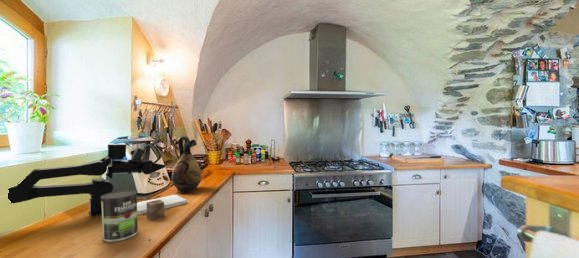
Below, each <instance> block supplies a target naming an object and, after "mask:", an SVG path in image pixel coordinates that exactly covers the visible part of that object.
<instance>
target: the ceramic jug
mask: <svg viewBox="0 0 579 258" xmlns="http://www.w3.org/2000/svg"><path fill="white" fill-rule="evenodd" d="M195 146H197V141H196V140H195V139H191V140H190V139H189V136H186V135H182V136H181V137H179V138H178V149H179V150H178V151H179V159H178V160H177V162H176V163H175V164H174V167H173V169H172V173H171V182H172V184H173V186H174V187H175V188H176V190H177V193H180V194H190V193H193V192H196V189H197V187H198V186H199V185H200V183H201V182H202V174H203V173H202V170H201V167H200V164H199V163H198V161H197V158H195V157H194V155H193V154H192V152H191V148H193V147H195Z"/></svg>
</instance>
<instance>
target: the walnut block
mask: <svg viewBox="0 0 579 258" xmlns="http://www.w3.org/2000/svg"><path fill="white" fill-rule="evenodd" d="M165 217H166V216H165V209H164V202H163V201H161V200H156V201H151V202H147V213H146V218H148V219H149V220H150V221H154V220H158V219H161V218H165Z"/></svg>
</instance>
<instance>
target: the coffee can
mask: <svg viewBox="0 0 579 258" xmlns="http://www.w3.org/2000/svg"><path fill="white" fill-rule="evenodd" d="M137 195H138V191H135V190H131V189H130V190H128V189H127V190H117V191H112V192H111V193H107V194H105V195H102V196H101V208H102V214H101V225H102V226H101V228H102V229H101V230H102V233H101V234H102V237H101V238H102V241H103V242H106V243H114V242H116V243H117V242H121V241H125V240H128V239H130V238H132V237H135V236H136V235H137V234H138V233H139V228H138V227H139V226H138V213H137V203H138V202H137V200H138V199H137Z"/></svg>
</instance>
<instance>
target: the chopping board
mask: <svg viewBox="0 0 579 258" xmlns="http://www.w3.org/2000/svg"><path fill="white" fill-rule="evenodd" d="M156 200H161V201H163V202H164V210H165V209H169V208H174V207H176V206H181V205H185V204H188V199H185V198H183V197H182V196H180V195H177V194H171V195H167V196H163V197H158V198H154V199H149V200H144V201H139V202H137V215H139V216H140V215H143V214H147V202H151V201H156Z"/></svg>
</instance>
